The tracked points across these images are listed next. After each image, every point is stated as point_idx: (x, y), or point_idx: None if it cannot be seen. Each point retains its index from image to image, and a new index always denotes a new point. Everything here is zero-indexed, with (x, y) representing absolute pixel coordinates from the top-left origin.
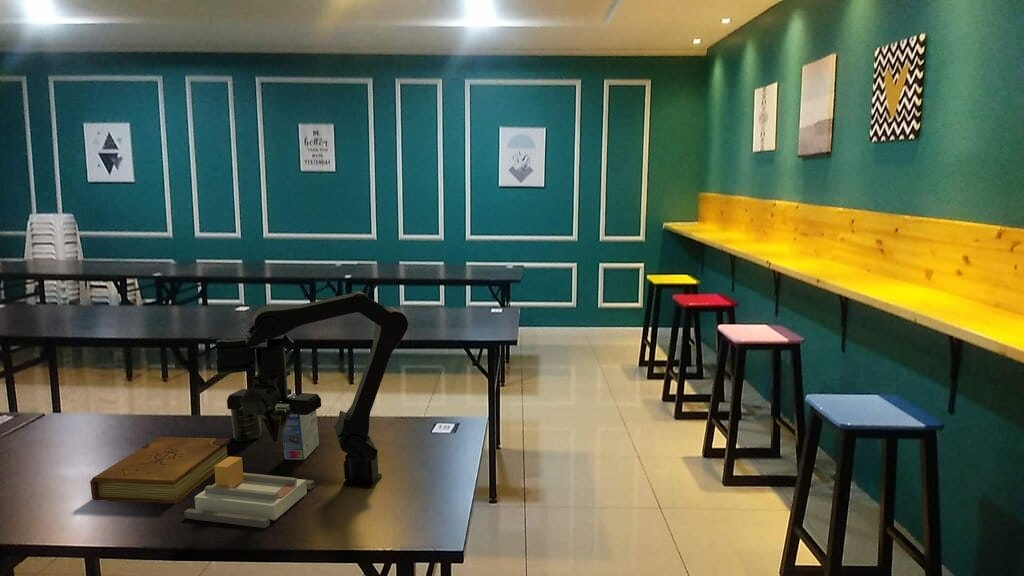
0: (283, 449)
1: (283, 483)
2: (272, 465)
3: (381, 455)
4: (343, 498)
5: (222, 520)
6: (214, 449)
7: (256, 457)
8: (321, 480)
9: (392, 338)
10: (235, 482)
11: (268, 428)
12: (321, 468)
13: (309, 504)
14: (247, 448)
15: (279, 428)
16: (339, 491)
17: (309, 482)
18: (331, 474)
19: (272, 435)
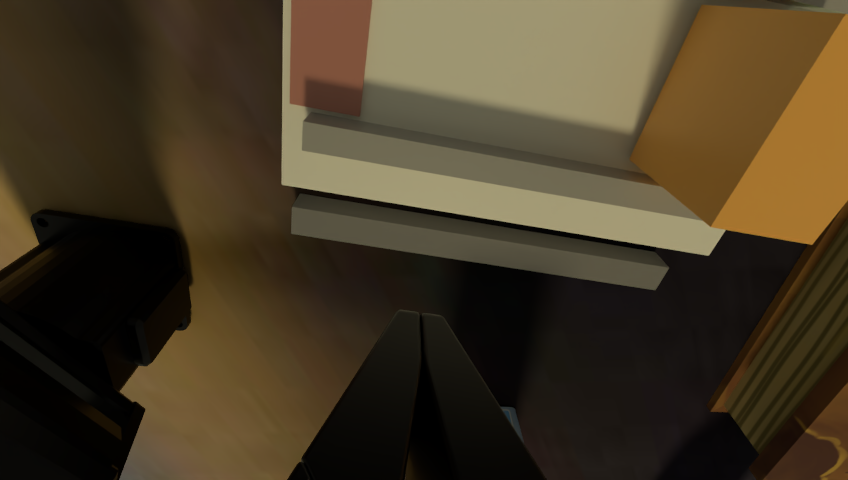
0: (523, 442)
1: (381, 126)
2: (545, 371)
3: (191, 435)
4: (92, 109)
5: None
6: (828, 409)
7: (618, 416)
8: (300, 272)
9: None
10: (676, 87)
11: (516, 465)
12: (351, 356)
13: (222, 33)
14: (661, 461)
15: (305, 466)
16: (160, 180)
17: (303, 215)
18: (287, 317)
19: (447, 363)
